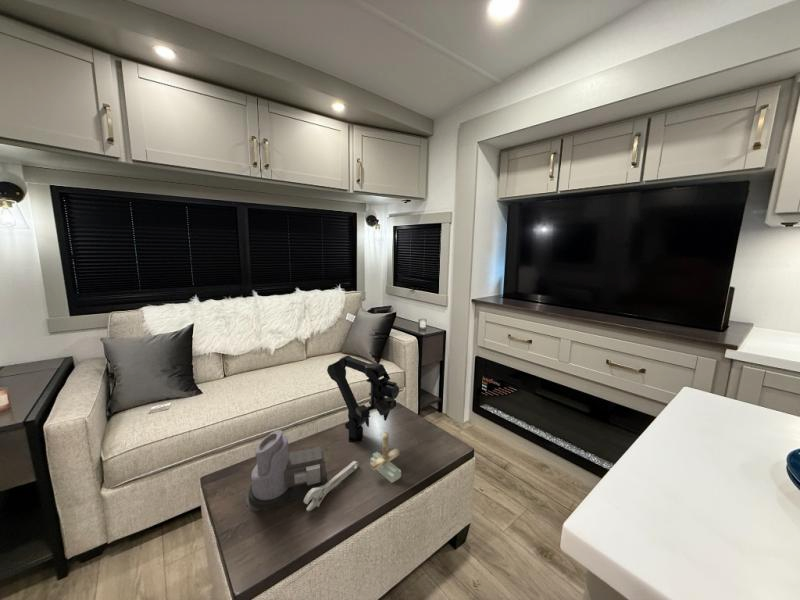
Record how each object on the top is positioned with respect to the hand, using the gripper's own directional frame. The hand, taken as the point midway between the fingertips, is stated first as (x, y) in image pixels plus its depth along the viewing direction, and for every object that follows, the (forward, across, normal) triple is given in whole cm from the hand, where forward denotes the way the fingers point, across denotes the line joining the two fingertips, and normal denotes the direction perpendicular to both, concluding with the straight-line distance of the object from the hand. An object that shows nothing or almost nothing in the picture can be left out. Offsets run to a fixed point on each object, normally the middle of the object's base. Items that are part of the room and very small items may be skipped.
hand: (376, 423), depth 144 cm
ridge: (+12, -5, -16) cm, 20 cm away
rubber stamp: (+8, -5, -16) cm, 18 cm away
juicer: (+12, -41, -3) cm, 43 cm away
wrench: (+12, -27, -13) cm, 32 cm away
